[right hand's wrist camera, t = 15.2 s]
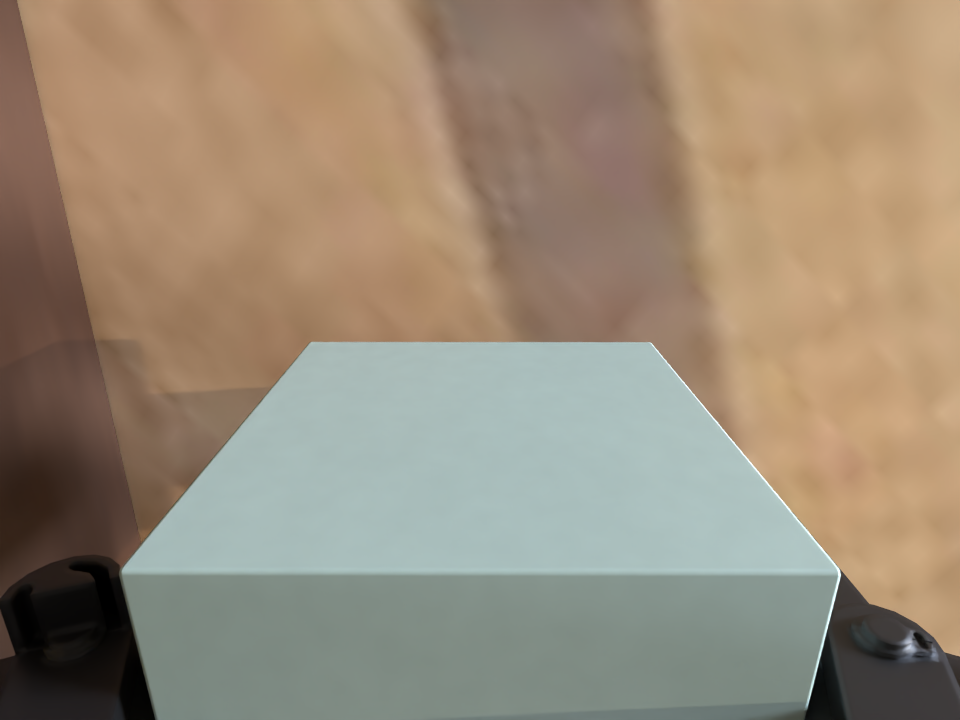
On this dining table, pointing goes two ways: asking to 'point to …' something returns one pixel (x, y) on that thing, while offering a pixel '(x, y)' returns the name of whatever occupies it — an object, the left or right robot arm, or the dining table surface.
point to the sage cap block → (479, 549)
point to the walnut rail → (47, 359)
